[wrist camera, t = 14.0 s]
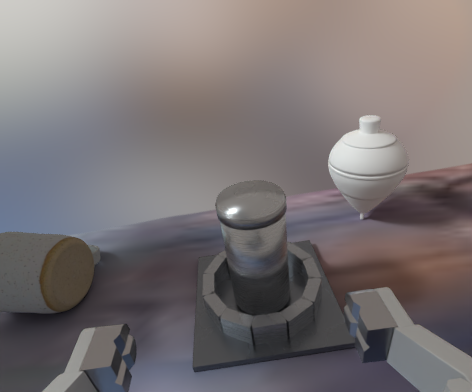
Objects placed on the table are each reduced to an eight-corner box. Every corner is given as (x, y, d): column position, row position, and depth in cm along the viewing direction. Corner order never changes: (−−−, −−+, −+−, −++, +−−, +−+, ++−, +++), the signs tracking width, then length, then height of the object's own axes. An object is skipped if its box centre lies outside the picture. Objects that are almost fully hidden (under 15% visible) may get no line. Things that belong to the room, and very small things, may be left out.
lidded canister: (235, 321, 25) (215, 222, 20) (231, 275, 30) (214, 185, 25) (297, 311, 25) (293, 210, 20) (284, 267, 29) (278, 175, 25)
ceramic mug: (68, 331, 27) (28, 267, 24) (-9, 329, 29) (-57, 268, 25) (121, 253, 36) (99, 198, 33) (61, 255, 38) (33, 202, 34)
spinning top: (326, 237, 33) (327, 132, 27) (328, 200, 40) (329, 108, 34) (404, 242, 31) (424, 128, 25) (393, 202, 37) (407, 103, 31)
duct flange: (194, 372, 22) (186, 350, 21) (199, 261, 33) (194, 243, 32) (355, 347, 22) (357, 324, 21) (309, 244, 33) (309, 225, 31)
